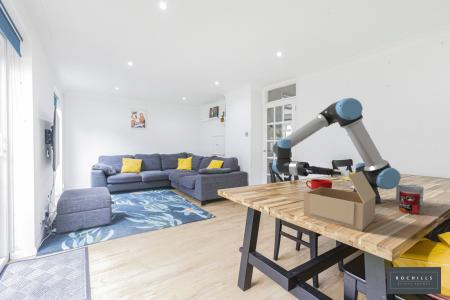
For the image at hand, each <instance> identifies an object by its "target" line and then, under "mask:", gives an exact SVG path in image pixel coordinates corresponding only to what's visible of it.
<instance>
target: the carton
mask: <svg viewBox="0 0 450 300" xmlns="http://www.w3.org/2000/svg"><path fill="white" fill-rule="evenodd" d="M302 203H303V206H302V213H303V216H304V217H307V218H310V219H311V218H312V219H315V220H318V221H322V222H325V223H329V224H333V225H337V226H340V227H344V228H346V229H350V230H354V231H357V232H363V231H364V230H366V229H367V228H368V227H369V226H370V225H371V224H372V223H373V222H374V221H375V217H376V214H375V213H376V203H375V197H373V198H372V199H370V200H369V201H367V202H366V203H364V204H363V202H362V200H361V198H360V197H359V195H358V193H356V192H353V191H349V190H344V189H343V190H342V189H338V188H332V189H331V188H324V187H319V188H316V189H313V190H312V189H311V190H307V191H303V202H302Z"/></svg>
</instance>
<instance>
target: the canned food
mask: <svg viewBox="0 0 450 300" xmlns="http://www.w3.org/2000/svg"><path fill="white" fill-rule="evenodd" d="M420 206H421V205H420V192H418V191H414V190H405V189H401V190H400V194H399V203H398V209H399V212H400V211H401V213H403V212H404V213H403V214H407V213H409V214H408V215H413V214H417V215H419V214H420Z"/></svg>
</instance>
